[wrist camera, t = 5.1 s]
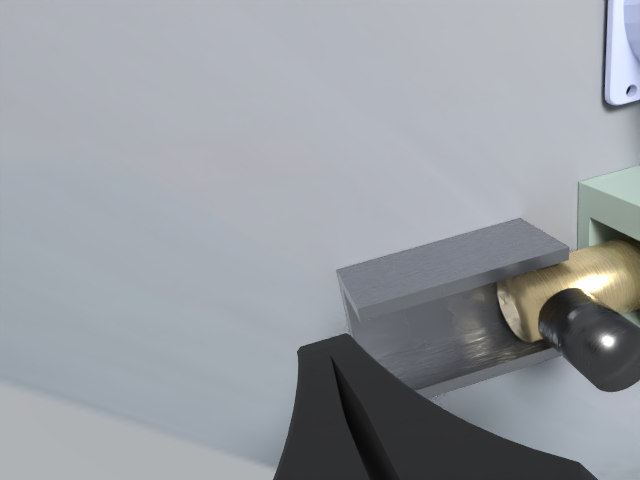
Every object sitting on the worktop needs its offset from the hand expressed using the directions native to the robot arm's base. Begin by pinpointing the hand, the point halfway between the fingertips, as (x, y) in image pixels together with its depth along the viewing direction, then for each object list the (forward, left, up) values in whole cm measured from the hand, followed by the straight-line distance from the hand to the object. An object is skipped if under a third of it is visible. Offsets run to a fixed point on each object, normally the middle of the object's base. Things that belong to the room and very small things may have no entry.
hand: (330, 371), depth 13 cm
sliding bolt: (-14, +5, -8) cm, 17 cm away
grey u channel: (-6, +5, -9) cm, 12 cm away
